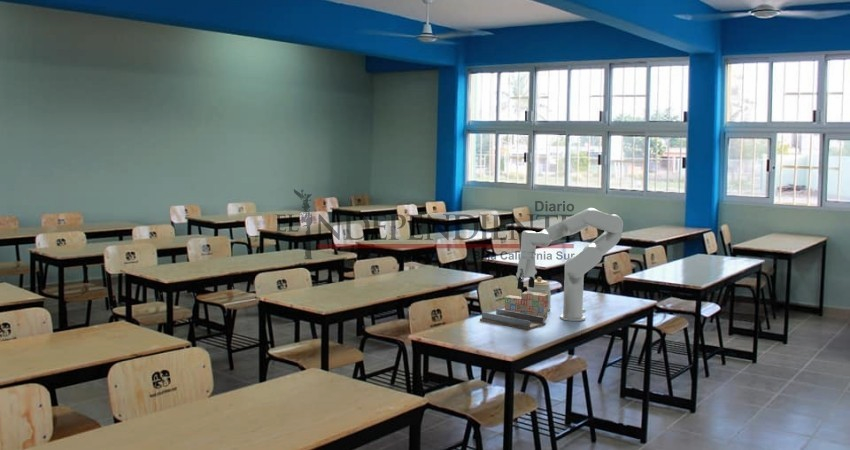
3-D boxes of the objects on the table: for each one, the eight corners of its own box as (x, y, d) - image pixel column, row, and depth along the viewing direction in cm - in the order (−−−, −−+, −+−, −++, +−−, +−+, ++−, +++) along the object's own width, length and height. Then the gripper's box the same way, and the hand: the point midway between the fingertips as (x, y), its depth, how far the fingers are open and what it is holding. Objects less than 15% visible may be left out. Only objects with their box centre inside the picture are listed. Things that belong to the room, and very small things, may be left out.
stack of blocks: (504, 314, 391) (504, 291, 390) (508, 312, 396) (509, 289, 395) (543, 319, 380) (544, 295, 379) (547, 317, 386) (548, 293, 385)
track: (498, 315, 387) (499, 308, 386) (545, 324, 368) (545, 316, 368) (479, 320, 375) (480, 312, 374) (527, 330, 356) (527, 321, 356)
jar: (551, 307, 410) (552, 275, 408) (549, 312, 397) (550, 279, 396) (527, 306, 413) (528, 274, 411) (524, 310, 400) (525, 277, 399)
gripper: (531, 252, 394) (529, 285, 395) (511, 255, 381) (510, 288, 382) (543, 254, 389) (541, 287, 390) (524, 257, 376) (522, 291, 377)
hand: (525, 288), depth 386 cm, fingers open, 9 cm apart
